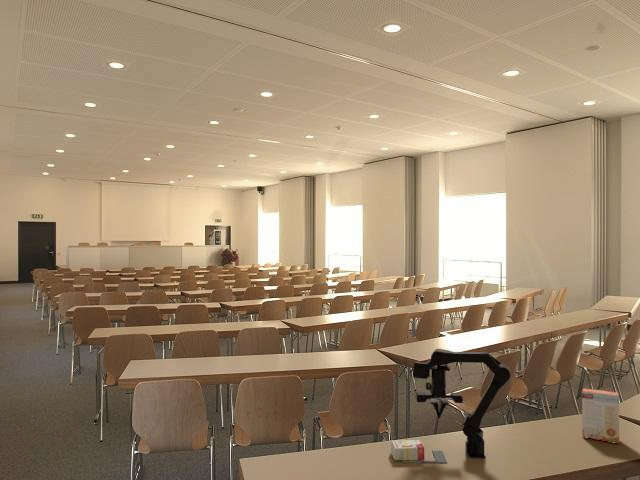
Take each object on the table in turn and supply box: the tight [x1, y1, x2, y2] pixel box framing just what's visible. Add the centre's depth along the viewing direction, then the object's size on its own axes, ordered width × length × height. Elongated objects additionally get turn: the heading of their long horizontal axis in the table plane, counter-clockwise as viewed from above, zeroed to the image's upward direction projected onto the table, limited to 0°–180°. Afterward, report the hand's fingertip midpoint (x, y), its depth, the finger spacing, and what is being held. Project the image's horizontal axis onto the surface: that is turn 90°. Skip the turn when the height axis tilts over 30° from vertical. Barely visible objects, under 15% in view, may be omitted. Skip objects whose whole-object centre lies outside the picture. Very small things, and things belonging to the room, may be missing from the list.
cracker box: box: [581, 388, 620, 444], centre depth 218 cm, size 14×6×21 cm, turn 58°
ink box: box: [390, 439, 425, 461], centre depth 199 cm, size 9×5×12 cm
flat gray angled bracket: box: [402, 450, 448, 464], centre depth 199 cm, size 17×11×1 cm, turn 87°
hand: (438, 418), depth 206 cm, fingers closed
